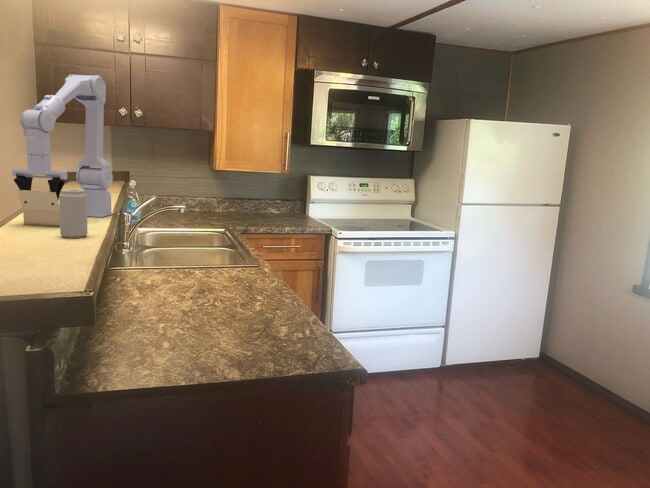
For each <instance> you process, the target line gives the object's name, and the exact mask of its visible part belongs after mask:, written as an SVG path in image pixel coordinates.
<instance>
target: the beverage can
mask: <svg viewBox="0 0 650 488" xmlns="http://www.w3.org/2000/svg"><path fill="white" fill-rule="evenodd" d="M58 203H59V209H60V227H59V231H60V233H59V234H60V235H61V236H62V237H63V238H64V239H80V238H84V237H85V236H86V235H88V233H89V232H88V216H87V195H86V194H85V191H84V190H83V189H62V190H61V193H60V195H59V200H58Z"/></svg>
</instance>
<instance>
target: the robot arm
mask: <svg viewBox="0 0 650 488" xmlns="http://www.w3.org/2000/svg"><path fill="white" fill-rule="evenodd" d="M106 85H107V84H106V82H105V80H103V78H102V77H101V75H98V74H95V75H88V74H87V75H86V74H83V75H82V74H73V73H72V74H69V75H68V76H67V77H65V78H64V85H62V87H60V89H58V91H57V92H56V93H55V95H54V94H46V95H45V96H43V99H42V100H41V101H40V102H39V103H38V104H36V105H34V107H33V108H32V109H26V110H24V112H22V113H21V116H20V119H19V123H20V124H19V125H20V126H21V128H22V129H23V136H24V137H25V140H26V157H27V169H23V168H22V169H21V168H14V169H12V170H11V172H12V173H11V176H12V177H14V178H13V182H14V183H15V185H16V186H17V187H18V190H27V191H32V184H33V179H34V178H37V179H38V178H39V179H47V183H48V186H49V192H56V196H57V199H58V201H59V195H60V193H61V190H63V187H64V186H65V184H66V180H68V171H59V170H52V162H51V161H52V160H51V159H52V158H51V156H52V155H51V139H50V138H51V137H50V136H51V135H50V134H51V133H50V132H51V131H53V129H54V128H55V123H56V121H57V119H58V118H59V117H60V116H61V115H62V114H63V113H64V112H65V111H66V104H68V103H69V102H70V101H72V100H73V99H75V100H77V102H78V103H81V104H83V106H84V107H85V150H84V152H85V155H84V156H85V157H84V158H83V159H81V160H79V162H78V164H77V165H78V167H77V171H76V175H75V177H76V178H75V179H76V181H77V183H78V185H79V186H80V188H81V189H82V190H84V191H85V194H86V195H87V217H94V218H103V217H108V216H111V215H114V214H115V212H113V211H112V194H111V192H110V190H109V189H110V186H111V185H112V183H113V179H114V175H113V172H112V164H111V163H109V162H108V161H107V160H106V159H105V158H104V111H105V110H104V108H105V107H104V106H105V104H106V102H107V101H106V100H107V99H106V97H107V96H106V93H107V90H106V89H107V87H106ZM24 202H25V203H27V201H24ZM51 204H52V205H54V203H51Z"/></svg>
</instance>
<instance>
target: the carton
mask: <svg viewBox="0 0 650 488" xmlns="http://www.w3.org/2000/svg"><path fill="white" fill-rule="evenodd" d="M22 212H23V214H22V215H23V225H27V226H41V227H42V226H44V227H57V228H60V212H59V211H43V210H26V209H23V208H22Z"/></svg>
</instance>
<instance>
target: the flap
mask: <svg viewBox="0 0 650 488" xmlns="http://www.w3.org/2000/svg"><path fill="white" fill-rule="evenodd" d="M16 192H17V196H18V197H19V201H20V204H21V207H22V210H23V209H26V210H43V211H59V212H60V209H59V200H58V199H57V196H56V192H50V191H44V190H43V191H41V190H31V191H27V190H20V189H17V190H16ZM24 201H27V203H25V202H24ZM51 203H54V205H52V204H51Z"/></svg>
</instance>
